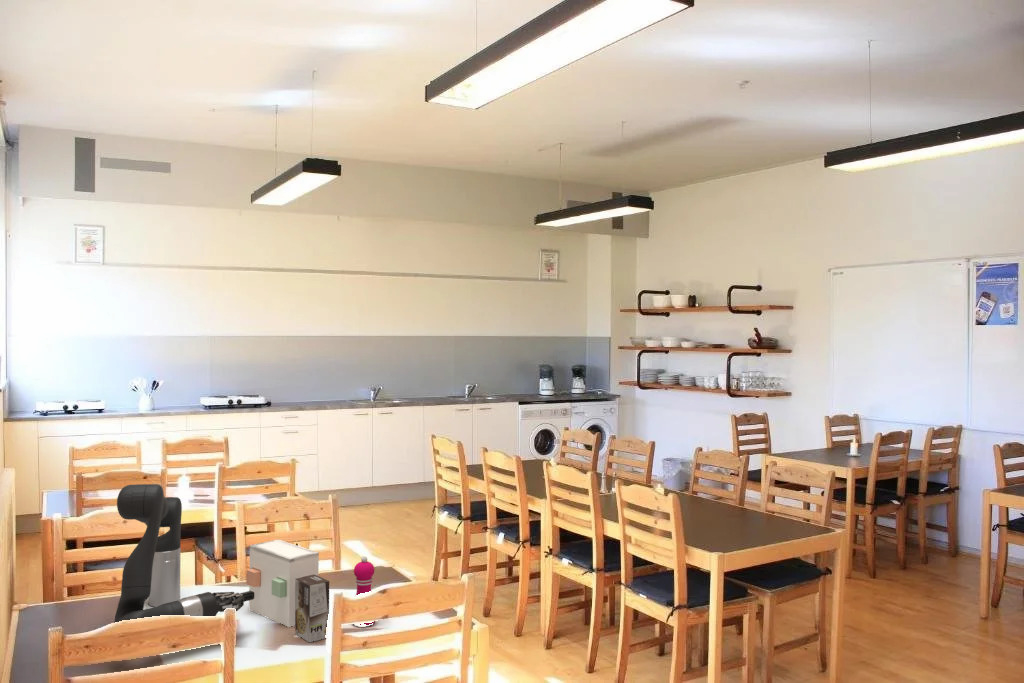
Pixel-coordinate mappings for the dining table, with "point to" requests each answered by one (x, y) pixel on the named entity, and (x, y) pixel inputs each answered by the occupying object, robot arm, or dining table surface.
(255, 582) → the terracotta button
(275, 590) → the sage button
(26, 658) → the dining table surface
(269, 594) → the button panel
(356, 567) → the pepper mill
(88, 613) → the dining table surface
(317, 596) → the coffee box
